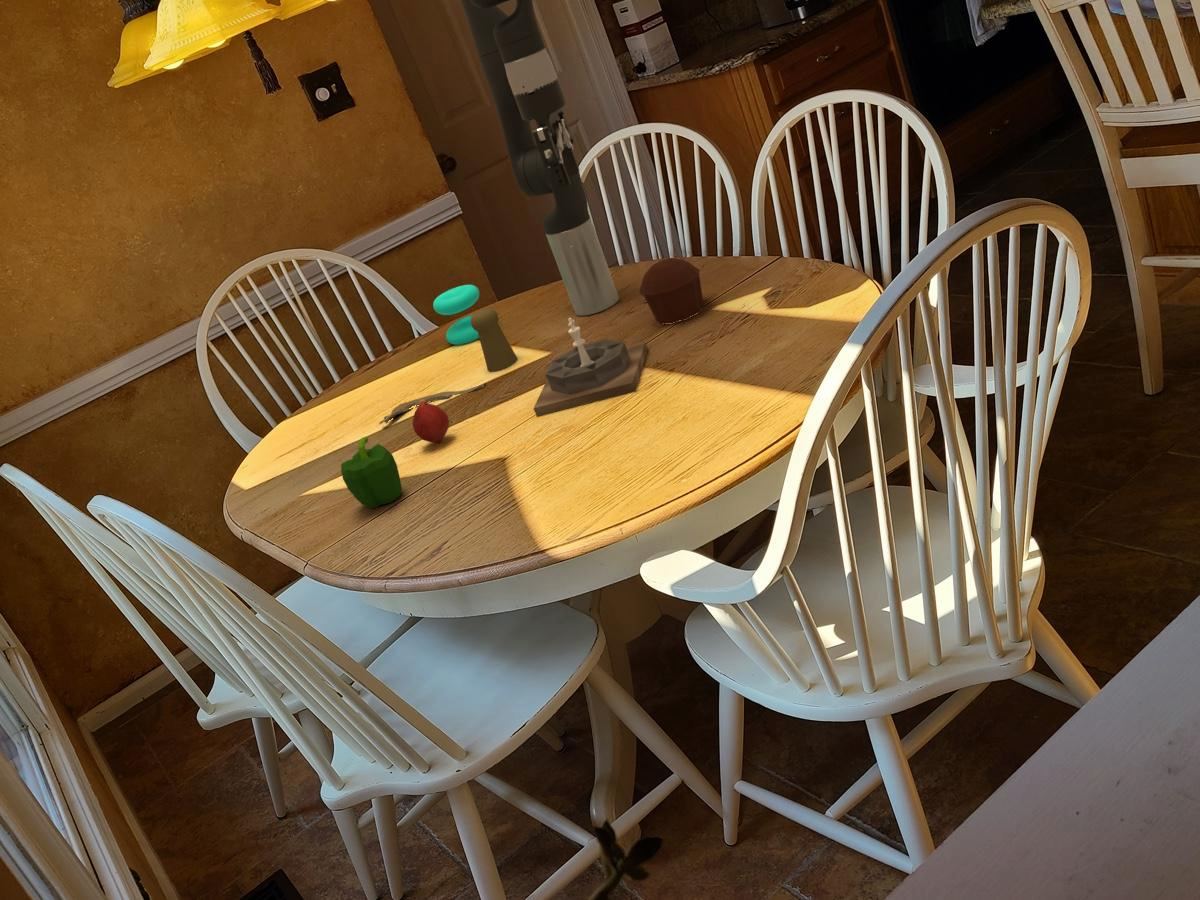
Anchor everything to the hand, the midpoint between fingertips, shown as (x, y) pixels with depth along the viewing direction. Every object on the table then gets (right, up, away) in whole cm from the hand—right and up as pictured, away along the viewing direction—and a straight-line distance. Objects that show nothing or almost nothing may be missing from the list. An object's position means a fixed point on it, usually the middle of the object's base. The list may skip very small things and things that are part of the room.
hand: (569, 181), depth 184 cm
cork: (-13, -29, +26) cm, 41 cm away
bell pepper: (-28, -52, -13) cm, 61 cm away
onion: (-22, -43, +1) cm, 48 cm away
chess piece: (+4, -32, +1) cm, 32 cm away
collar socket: (+4, -33, +1) cm, 33 cm away
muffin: (+20, -20, +17) cm, 33 cm away
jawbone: (-25, -37, +18) cm, 48 cm away
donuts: (-22, -21, +49) cm, 58 cm away
